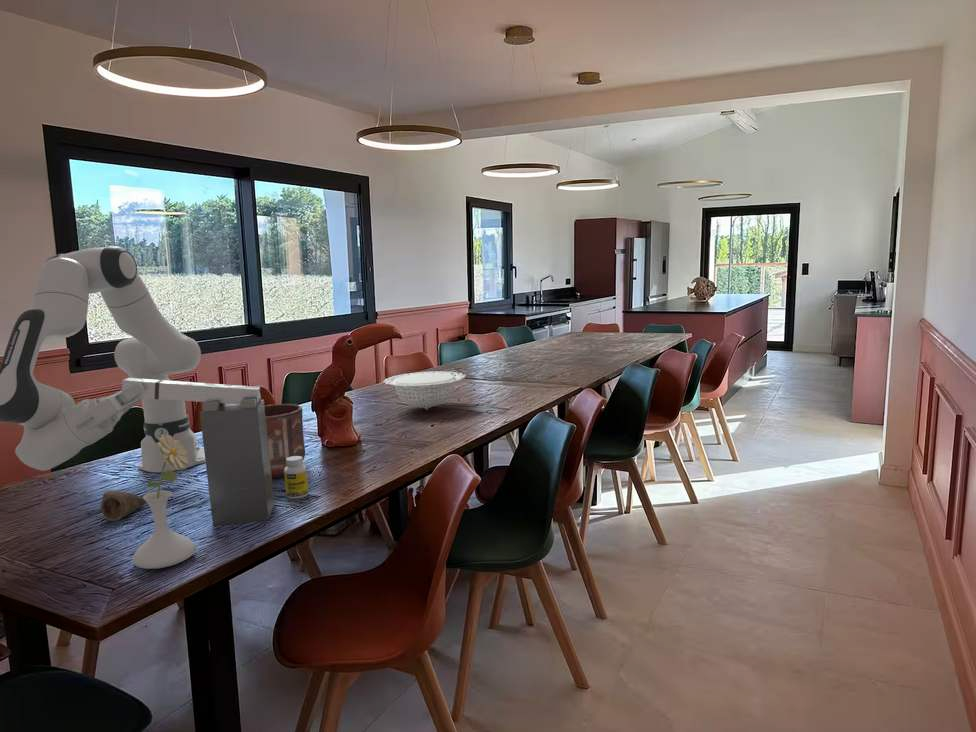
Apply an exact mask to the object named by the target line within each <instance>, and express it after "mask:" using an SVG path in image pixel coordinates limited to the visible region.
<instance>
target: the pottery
mask: <svg viewBox="0 0 976 732" xmlns="http://www.w3.org/2000/svg"><path fill="white" fill-rule="evenodd" d="M264 407H265V417H266V427H267V437H268V447H269V457H270V466H271V476H272V479H279V478H285V476H284V469H285V468H286V467H287V466H288V465H286V458H288V457H292V456H301V457H302V458H303V461H304V459H305V456H306V446H305V437H304V424H303V422H304V421H303V420H304V419H303V407H302V406H301V405H299V404H294V403H276V404H267V405H265V404H264Z"/></svg>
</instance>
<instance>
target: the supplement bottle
mask: <svg viewBox="0 0 976 732" xmlns="http://www.w3.org/2000/svg"><path fill="white" fill-rule="evenodd" d="M286 465H288V466H287V467H286V468H285V469H284V476H285V477H284V484H285V496H286V498H287V499H290V500H297V499H302V498H305V497H307V496H308V495H309V484H308V483H309V482H308V471H307V467H306V465H305V464H304V460H303V458H302V457H301V456H292V457H288V458H286Z"/></svg>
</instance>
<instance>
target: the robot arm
mask: <svg viewBox="0 0 976 732" xmlns="http://www.w3.org/2000/svg"><path fill="white" fill-rule="evenodd" d="M97 293H100V294H101V297H102V300H103V301H104V304H105V305H106V307H107V309H108V310H109V313H110V314H111V317H112V318H113V319H114V321H115V323H116V325H117V327H118V329H120V330H121V331H122V332H123V333H125V334H126V335H129V336H131V337H129V338H126V339H122V340H121V341H119V342H118V344H117V345H116V346H115V348H114V349H115V350H114V354H113V355H114V356H113V357H114V361H115V363H116V365H117V367H118V368H119V369H121V371H123V372H124V373H126V375H128V377H129V378H138V379H153V380H167V381H171V380H170V378H169V376H168V375H167V374H180V373H185V372H189V371H192V370H194V369H196V368H197V367H198V365H199V364H200V361H201V358H202V350H201V347H200V346H199V343H198V342H197V341H196V340H195V339H194V338H191V337H189V336H187V335H185V334H184V333H182V332H181V331H180V330H178V329H177V328H176V327H175V326H173V325H172V324H171V323H170V322H169V321H168V320H167V319H166V318H165V316H164V315H163V314H162V312H161V311H160V310H159V308H158V306H157V304H156V302H155V301H154V299H153V298H152V295H151V293H150V292H149V290H148V288H147V285H146V284H145V282H144V280H143V279H142V277H141V276H140V274H139V273H138V265H137V262H136V260H135V257H134V256H133V254H132V253H131V252H130V251H129V250H127V249H125V248H124V247H123V246H115V245H108V246H105V247H88V248H83V249H80V250H75V251H71V252H68V253H59V254H56V255H53V256H51V257H50V258H47V259H46V260H45V262H44V264H43V265H42V267H41V268H40V271H39V273H38V276H37V279H36V283H35V286H34V289H33V296H32V300H31V305H30V307H29V309H28V310H25V311H24V312H22V313H21V314H20V315H19V317H18V318H17V319H16V321H15V323H14V326H13V328H12V331H11V333H10V336H9V339H8V341H7V345H6V348H5V350H4V354H3V357H2V358H1V359H2V360H1V362H0V422H4V423H10V424H14V425H15V424H16V425H20V426H23V434H22V438H21V441H20V442H19V444H17V446H16V448H15V449H14V453H15V455H16V457H17V458H18V460H19V461H20V462H21V463H23V465H25V466H27V467H28V468H31V469H33V470H37V471H43V472H45V471H48V470H50V469H54V468H55V467H57V466H60V465H61V464H63V463H64V462H66V461H68V460H70V459H71V458H73V457H75V456H76V455H78V454H79V452H80V451H81V450H83V448H85V447H88V446H90V445H93V444H94V443H96V442H98V441H99V440H101V439H103V438H104V437H106V436H107V435H108V434H110V433H112V432H113V431H114V428H115V426H116V425H117V424H118V422H119V421H120V420H121V419H122V418H121V417H122V416H123V415H125V414H126V413H127V412H128V411H129V410H131V409H132V408H133V407H134V406H136V405H137V404H138V403H139V402H140V401H141V404H142V410H143V416H144V422H143V430H144V435H145V437H144V438H143V439H142V440H141V441H140V448H141V449H140V451H141V463H139V464H138V465H137V470H143V471H146V472H148V473H161V472H162V467H163V464H164V460H163V456H161V454H160V451H159V449H158V447H159V446H158V442H160V441H159V438H161V435H163V436H164V437H165V436H166V435H167V434H168V435H169V436H172V438H173V439H174V440H175V441H176V440H178V441H179V442H180V445H181V446H183V448H184V450H186V451H187V455H185V456H186V457H188V462H189V463H188V464H186V463H184V465H185V467H186V469H187V468H191V467H193V466H197V465H201V464H204V463H206V461H205V453H204V447H199V445H198V439H197V438H198V437H197V435H196V434H195V433H194V431H192V430H191V425H190V415H189V414H187V412H186V403H185V401H181V400H165V399H150V398H134V397H136V396H137V395H138V394H140V393H141V392H143V391H145V390H146V387H145V386H144V384H142V383H140V384H138V385H136V386H135V387H133V388H132V389H130V390H128V391H126V392H124V393H122V389H121V390H119V391H117V392H114V393H113V394H111V395H108V396H105V397H103V396H102V397H98V398H93V399H90V398H86V399H83V400H82V401H80V402H78V403H77V402H76V400H75V399H74V397H73V396H72V395H71V394H69V393H67V392H65V391H63V390H61V389H58V388H56V387H53V386H49V385H48V384H47V385H46V384H44V383H41V382H40V381H38V380H37V379H36V377H35V375H34V369H35V366H36V363H37V360H38V357H39V354H40V350H41V346H42V344H43V343H44V341H45V340H57V339H59V340H60V339H65V338H69V337H71V336H75V334H78V333H79V332H80V331H81V330H82V329H83V328H84V326H85V324H86V321H87V316H88V308H89V300H90V299H89V298H90V295H91V294H92V295H93V294H97ZM166 470H171V471H173V472H175V471H178V470H177V469H176V468H174V469H172V468H171V466H170V465H168V464H167V463H166V464H165V467H164V472H165V471H166ZM180 470H181V469H180V468H179V471H180ZM164 472H163V473H164Z"/></svg>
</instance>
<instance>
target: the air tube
mask: <svg viewBox="0 0 976 732" xmlns="http://www.w3.org/2000/svg"><path fill="white" fill-rule="evenodd" d="M140 383H142V384H144V386H145V387H146V390H145V391H143V392H141V393H140V394H138V395H137V396H136V397H134V398H150V399H165V400H181V401H184V402H185V401H186V402H196V403H198V402H199V403H204V402H215V401H218V402H219V403H227V404H241V403H240V401H241V400H242V399H252V398H256V404H258V403H259V396H260V394H261V392H260V391H261V387H260V386H251V385H250V386H248V385H237V384H223V383H221V384H220V383H208V382H193V381H181V380H170V381H167V380H153V379H138V378H131V377H127V378H124V379H122V385H121V390H122V393H124V392H126V391H128V390H130V389H132V388H133V387H135V386H136V385H138V384H140Z"/></svg>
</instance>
